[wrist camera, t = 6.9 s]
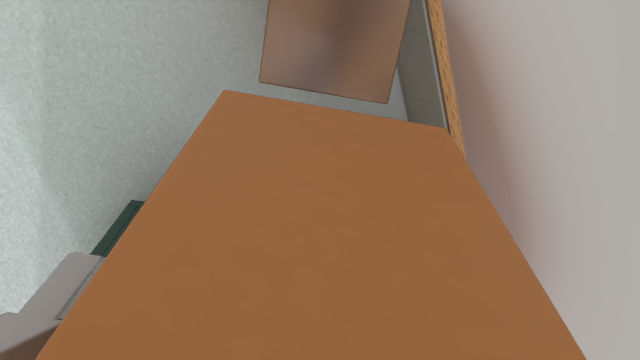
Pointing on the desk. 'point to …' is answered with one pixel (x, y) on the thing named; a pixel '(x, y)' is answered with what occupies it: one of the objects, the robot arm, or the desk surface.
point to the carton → (314, 251)
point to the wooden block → (334, 46)
